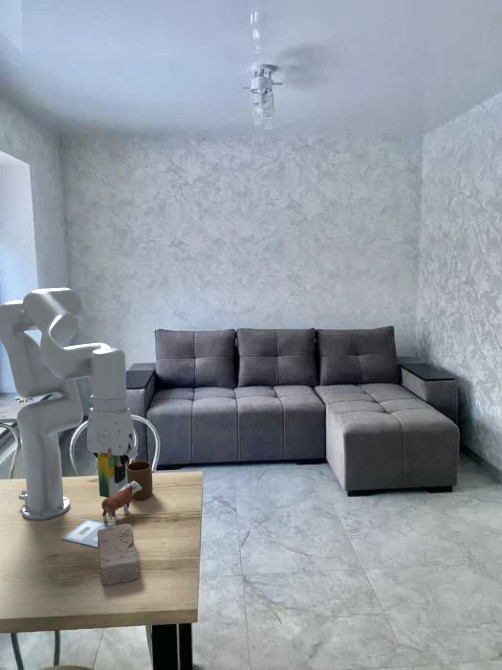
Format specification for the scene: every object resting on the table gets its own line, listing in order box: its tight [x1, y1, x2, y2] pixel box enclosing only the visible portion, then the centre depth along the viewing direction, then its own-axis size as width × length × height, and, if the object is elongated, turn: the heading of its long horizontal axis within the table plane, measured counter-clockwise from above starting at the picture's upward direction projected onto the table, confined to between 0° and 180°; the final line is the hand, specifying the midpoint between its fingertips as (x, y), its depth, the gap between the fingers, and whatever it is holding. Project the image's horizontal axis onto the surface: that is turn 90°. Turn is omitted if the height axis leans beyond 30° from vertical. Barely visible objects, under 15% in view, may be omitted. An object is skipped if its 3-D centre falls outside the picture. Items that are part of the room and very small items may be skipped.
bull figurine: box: [101, 481, 142, 523], centre depth 142 cm, size 4×13×8 cm, turn 146°
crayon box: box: [96, 448, 128, 498], centre depth 117 cm, size 7×3×12 cm, turn 160°
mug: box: [127, 458, 154, 502], centre depth 155 cm, size 12×8×9 cm, turn 26°
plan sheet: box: [62, 519, 116, 549], centre depth 132 cm, size 14×10×1 cm
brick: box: [97, 523, 140, 586], centre depth 120 cm, size 17×8×5 cm, turn 19°
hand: (113, 478), depth 117 cm, fingers closed on crayon box, 3 cm apart
